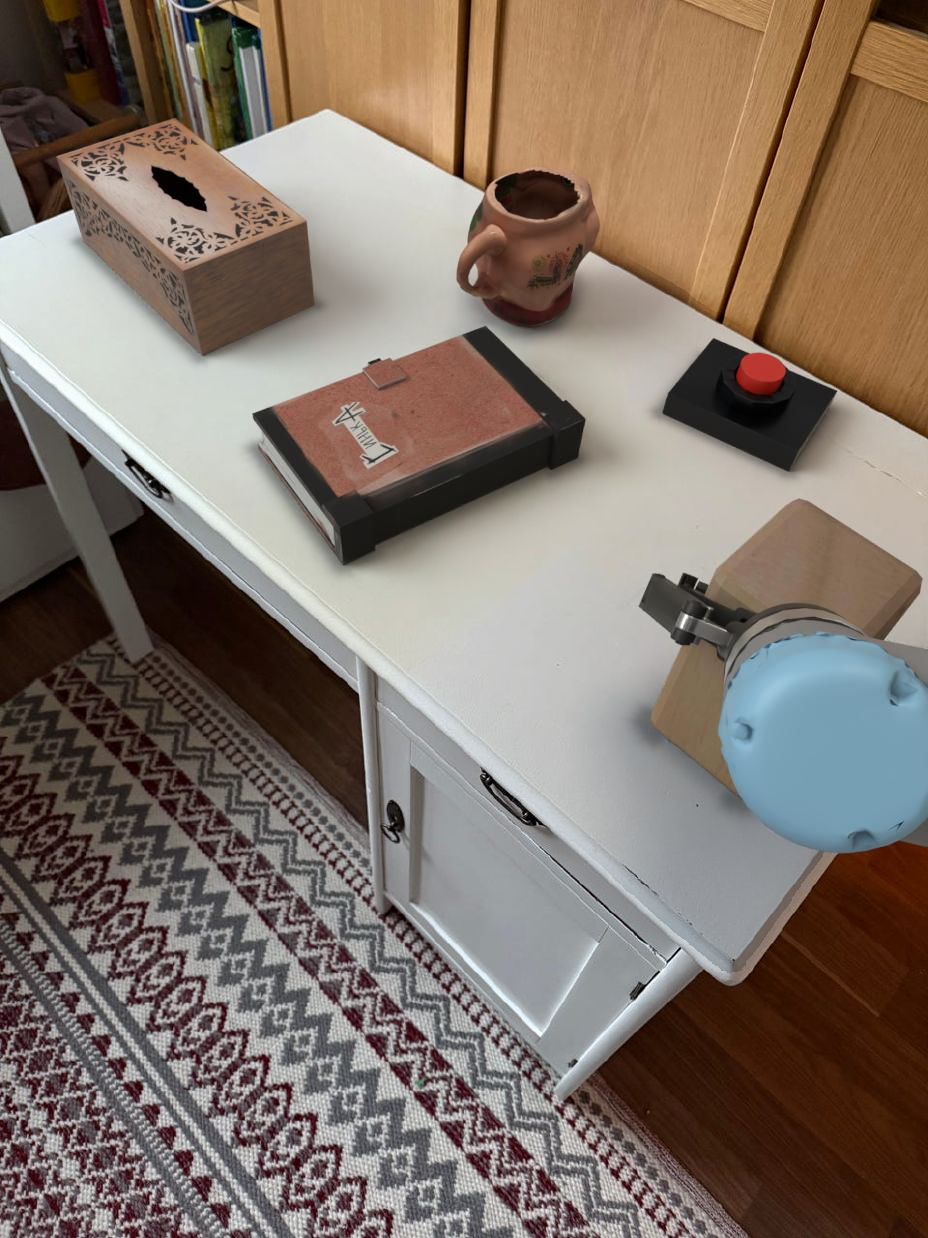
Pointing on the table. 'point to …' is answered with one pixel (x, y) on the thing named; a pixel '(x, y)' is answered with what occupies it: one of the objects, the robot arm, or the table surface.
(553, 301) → the terracotta mug
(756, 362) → the button
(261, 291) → the tissue box cover
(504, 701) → the table surface
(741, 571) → the wooden block
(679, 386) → the control block
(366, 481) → the book
